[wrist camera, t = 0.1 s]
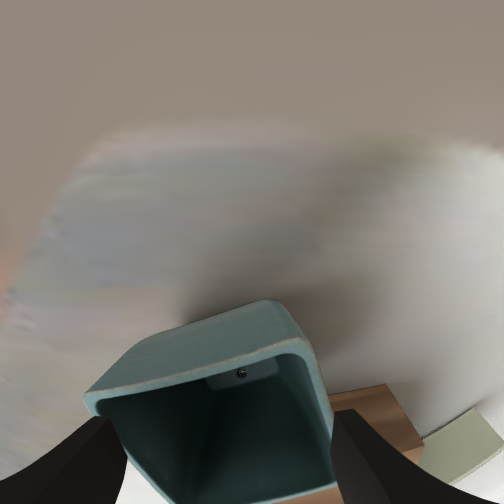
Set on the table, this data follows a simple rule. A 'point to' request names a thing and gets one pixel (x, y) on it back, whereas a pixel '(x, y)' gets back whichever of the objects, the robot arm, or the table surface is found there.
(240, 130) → the table surface
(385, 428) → the cabinet
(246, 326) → the flower pot
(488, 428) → the door
